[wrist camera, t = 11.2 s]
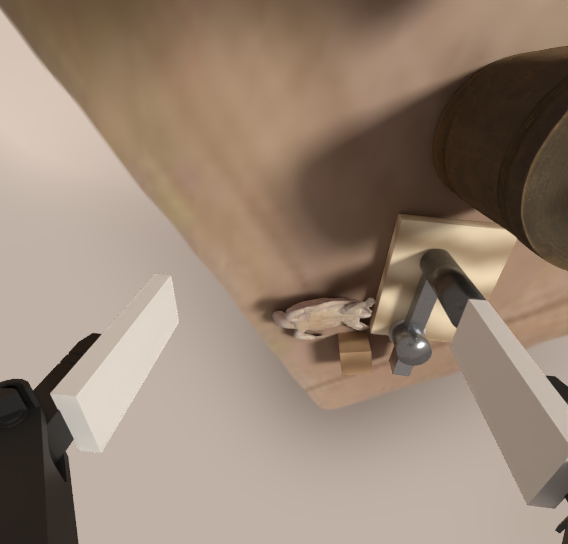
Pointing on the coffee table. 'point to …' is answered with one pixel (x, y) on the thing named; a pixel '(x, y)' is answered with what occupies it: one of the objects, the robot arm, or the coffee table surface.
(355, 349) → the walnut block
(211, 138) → the coffee table surface
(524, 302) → the coffee table surface
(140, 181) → the coffee table surface
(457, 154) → the wooden container
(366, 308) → the beige animal figurine
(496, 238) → the board
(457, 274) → the lever
